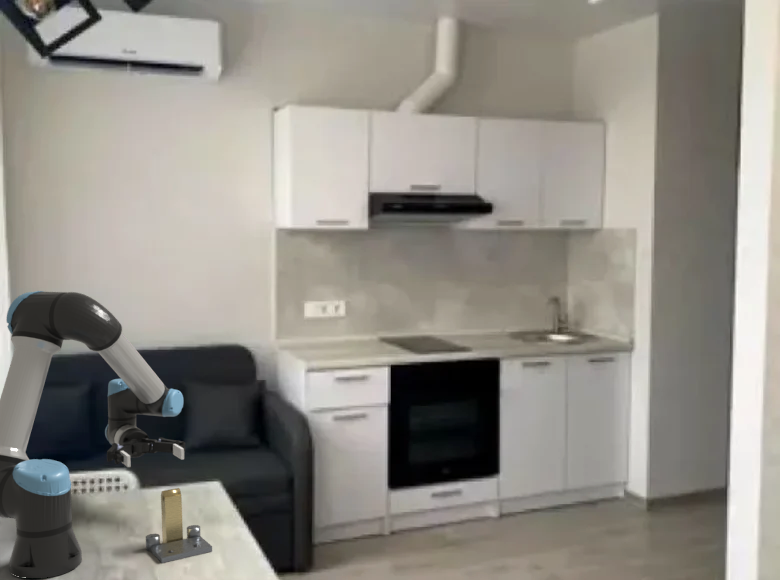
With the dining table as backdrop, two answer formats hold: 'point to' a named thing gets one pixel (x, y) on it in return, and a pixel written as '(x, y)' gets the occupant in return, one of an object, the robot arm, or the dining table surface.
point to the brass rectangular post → (171, 515)
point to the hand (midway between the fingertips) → (156, 457)
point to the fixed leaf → (178, 546)
